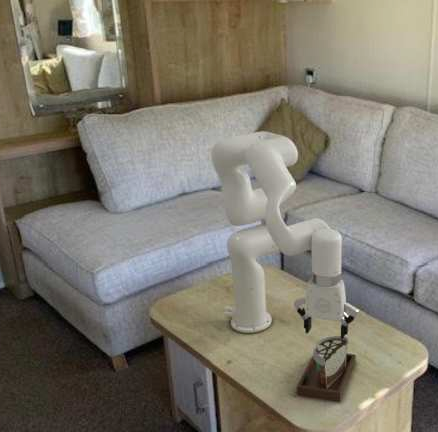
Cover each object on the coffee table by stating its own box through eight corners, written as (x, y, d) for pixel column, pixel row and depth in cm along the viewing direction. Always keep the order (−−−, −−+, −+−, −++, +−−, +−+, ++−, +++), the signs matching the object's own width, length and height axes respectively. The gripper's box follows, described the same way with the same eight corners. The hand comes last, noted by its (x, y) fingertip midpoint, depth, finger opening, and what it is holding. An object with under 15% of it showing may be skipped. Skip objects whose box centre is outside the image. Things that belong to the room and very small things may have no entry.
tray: (297, 395, 163) (296, 386, 162) (316, 357, 179) (316, 349, 178) (340, 402, 161) (340, 393, 160) (355, 362, 177) (355, 354, 176)
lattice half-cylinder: (329, 360, 176) (329, 330, 173) (348, 367, 173) (348, 337, 170) (304, 384, 166) (303, 352, 163) (323, 391, 164) (323, 359, 160)
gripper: (289, 278, 157) (290, 336, 163) (356, 288, 154) (354, 346, 160) (298, 265, 164) (299, 321, 170) (362, 274, 160) (360, 330, 167)
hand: (325, 333), depth 165 cm, fingers open, 9 cm apart
